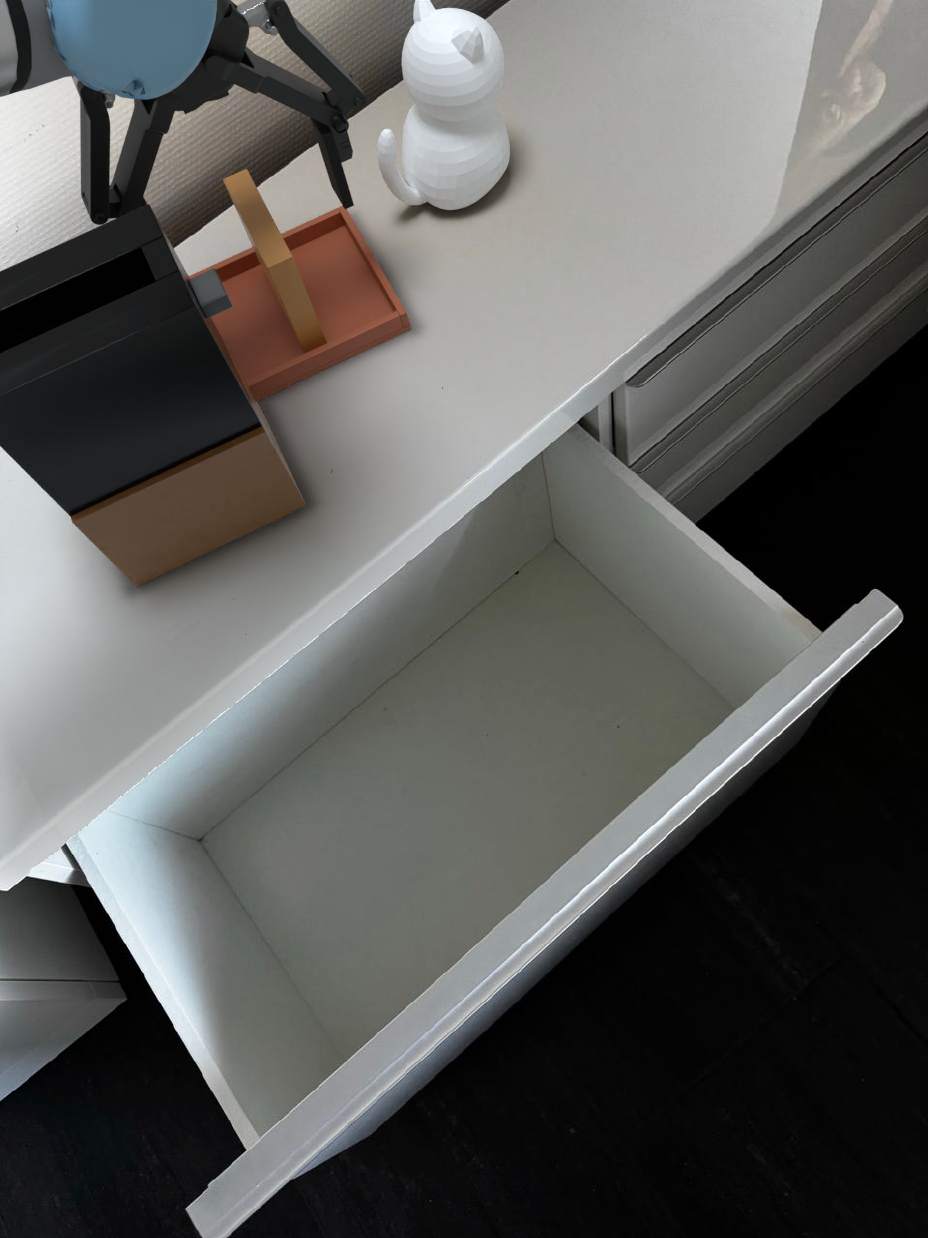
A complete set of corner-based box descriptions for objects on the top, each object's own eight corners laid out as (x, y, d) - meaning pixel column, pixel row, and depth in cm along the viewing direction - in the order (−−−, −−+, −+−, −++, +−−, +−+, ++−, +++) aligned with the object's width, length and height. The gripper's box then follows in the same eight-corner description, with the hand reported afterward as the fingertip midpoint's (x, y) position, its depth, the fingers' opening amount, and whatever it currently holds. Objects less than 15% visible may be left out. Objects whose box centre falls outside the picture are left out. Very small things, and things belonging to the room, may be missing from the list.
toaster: (136, 587, 77) (-33, 418, 57) (99, 485, 81) (-70, 295, 61) (328, 495, 78) (228, 298, 58) (282, 400, 82) (173, 184, 62)
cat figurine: (542, 168, 88) (528, 3, 74) (433, 255, 86) (398, 102, 72) (472, 119, 91) (447, -47, 78) (366, 201, 89) (320, 45, 75)
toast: (263, 271, 87) (222, 178, 78) (285, 261, 87) (246, 167, 78) (305, 355, 83) (267, 267, 73) (328, 345, 83) (292, 256, 74)
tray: (239, 410, 82) (230, 394, 80) (188, 297, 88) (178, 280, 86) (411, 329, 83) (406, 312, 81) (350, 222, 88) (344, 204, 86)
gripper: (-51, 81, 55) (120, 338, 74) (370, -101, 57) (431, 196, 76) (-79, 3, 58) (92, 268, 78) (320, -168, 60) (391, 134, 79)
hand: (260, 233), depth 77 cm, fingers open, 13 cm apart
